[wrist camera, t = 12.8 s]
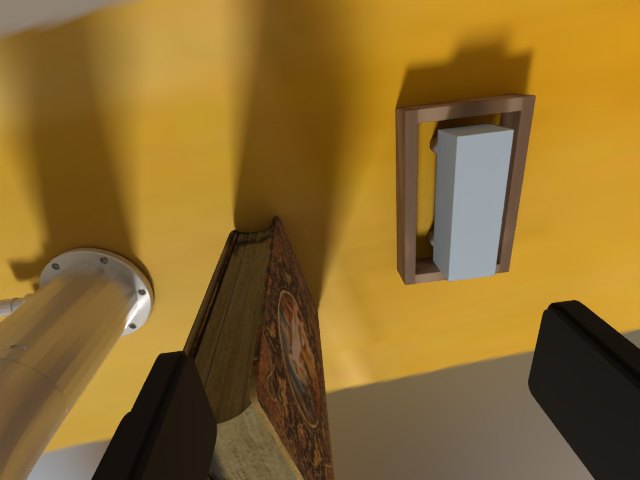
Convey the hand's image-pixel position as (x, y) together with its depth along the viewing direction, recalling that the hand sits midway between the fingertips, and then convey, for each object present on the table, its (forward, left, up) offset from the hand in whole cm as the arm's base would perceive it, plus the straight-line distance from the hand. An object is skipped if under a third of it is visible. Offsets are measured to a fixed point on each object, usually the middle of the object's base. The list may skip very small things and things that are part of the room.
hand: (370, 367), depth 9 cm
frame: (+15, -6, -30) cm, 34 cm away
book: (-6, -15, -31) cm, 35 cm away
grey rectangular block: (+15, -6, -28) cm, 32 cm away
